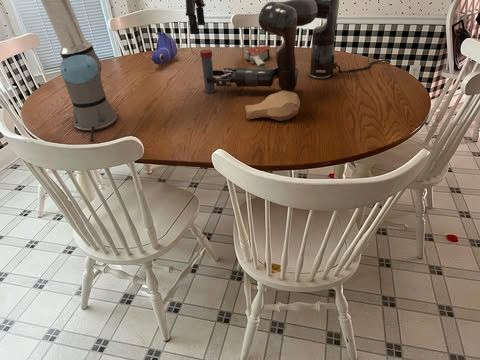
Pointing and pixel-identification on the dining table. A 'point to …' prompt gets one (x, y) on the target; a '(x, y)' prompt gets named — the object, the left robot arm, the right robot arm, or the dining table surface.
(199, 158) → the dining table surface
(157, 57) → the toy
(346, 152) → the dining table surface
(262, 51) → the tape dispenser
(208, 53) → the lid
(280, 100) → the squash
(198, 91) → the dining table surface
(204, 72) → the dark grey piece
